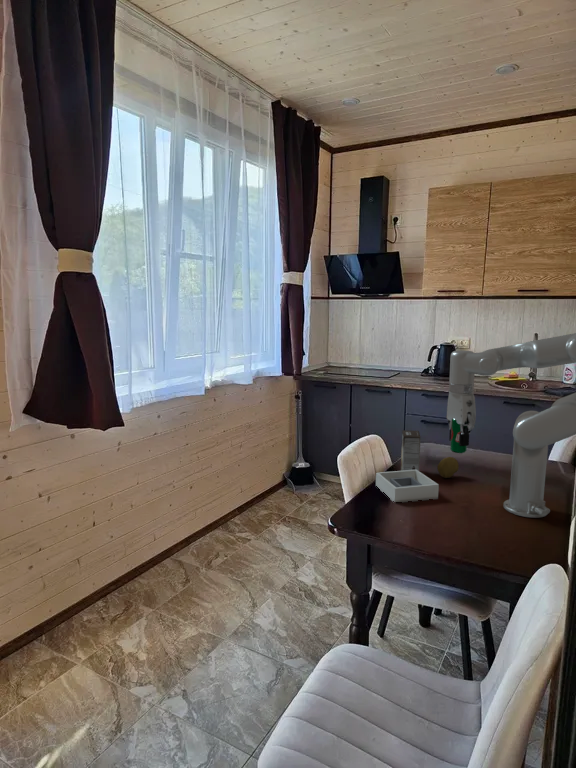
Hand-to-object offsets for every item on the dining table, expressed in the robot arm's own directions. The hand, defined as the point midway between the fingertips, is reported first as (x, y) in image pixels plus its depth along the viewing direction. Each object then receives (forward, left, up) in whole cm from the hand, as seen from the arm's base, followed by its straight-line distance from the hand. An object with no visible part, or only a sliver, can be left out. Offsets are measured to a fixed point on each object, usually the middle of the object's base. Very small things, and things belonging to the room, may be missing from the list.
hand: (458, 442), depth 161 cm
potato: (+18, -8, -19) cm, 28 cm away
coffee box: (+25, +4, -19) cm, 32 cm away
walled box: (+8, +14, -19) cm, 25 cm away
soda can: (0, 0, -3) cm, 3 cm away
